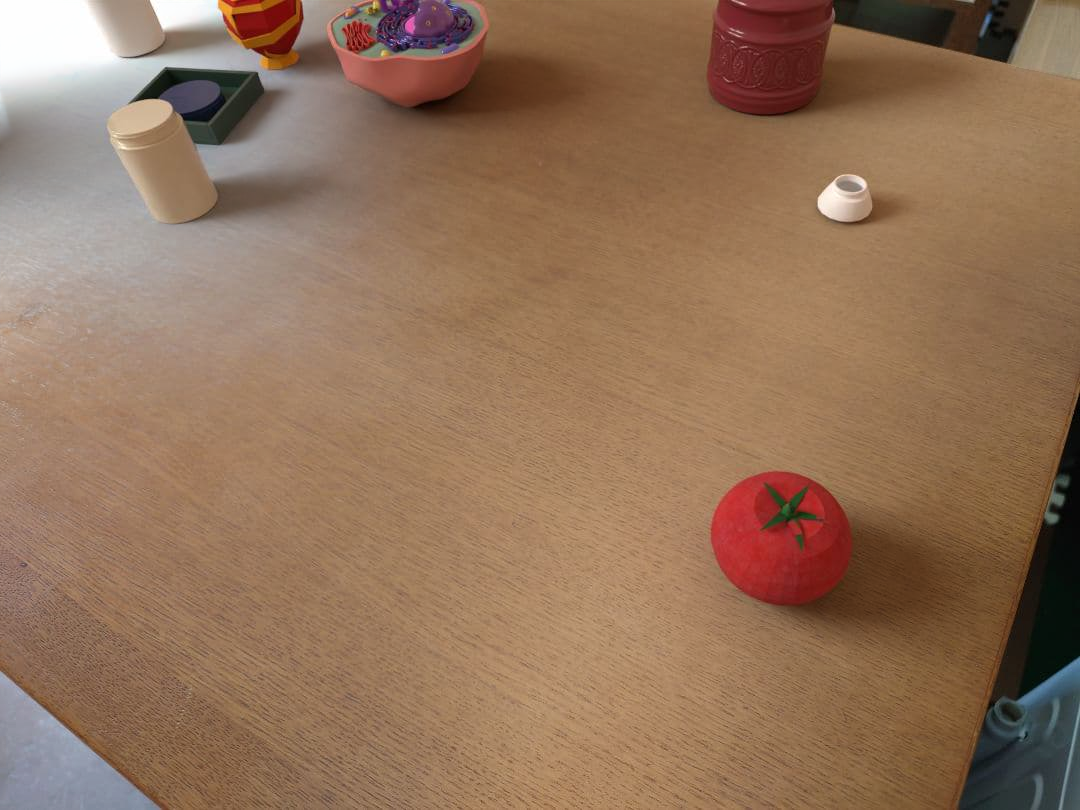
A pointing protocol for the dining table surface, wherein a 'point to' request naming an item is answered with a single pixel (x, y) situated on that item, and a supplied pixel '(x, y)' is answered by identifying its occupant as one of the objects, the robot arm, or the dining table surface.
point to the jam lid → (195, 100)
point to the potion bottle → (265, 28)
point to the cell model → (410, 47)
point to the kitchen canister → (768, 53)
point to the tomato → (781, 538)
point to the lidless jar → (846, 199)
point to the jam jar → (162, 160)
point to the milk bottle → (127, 25)
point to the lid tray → (234, 85)
